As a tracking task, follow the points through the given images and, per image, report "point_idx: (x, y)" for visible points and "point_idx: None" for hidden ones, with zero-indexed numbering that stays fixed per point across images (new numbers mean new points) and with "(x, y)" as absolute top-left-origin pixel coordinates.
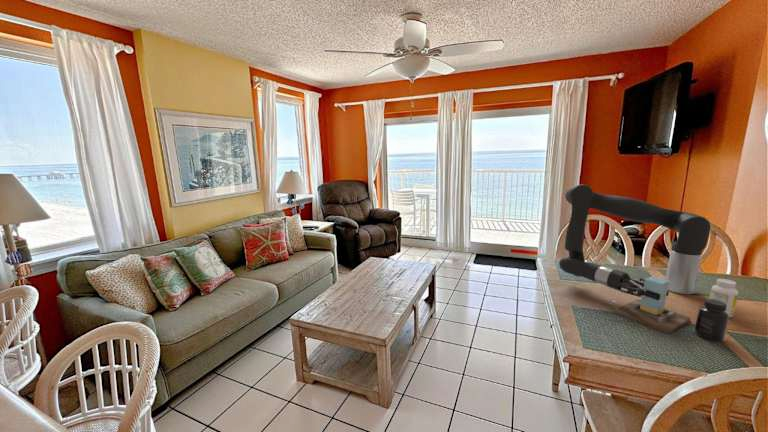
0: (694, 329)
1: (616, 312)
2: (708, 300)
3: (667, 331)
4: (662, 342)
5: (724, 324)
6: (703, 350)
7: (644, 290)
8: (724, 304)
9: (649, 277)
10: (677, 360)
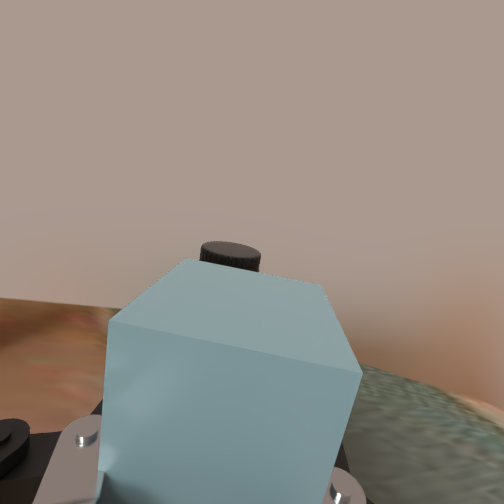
0: None
1: None
2: (232, 254)
3: None
4: (429, 475)
5: None
6: None
7: (362, 492)
8: (229, 243)
9: (229, 340)
10: (465, 424)
